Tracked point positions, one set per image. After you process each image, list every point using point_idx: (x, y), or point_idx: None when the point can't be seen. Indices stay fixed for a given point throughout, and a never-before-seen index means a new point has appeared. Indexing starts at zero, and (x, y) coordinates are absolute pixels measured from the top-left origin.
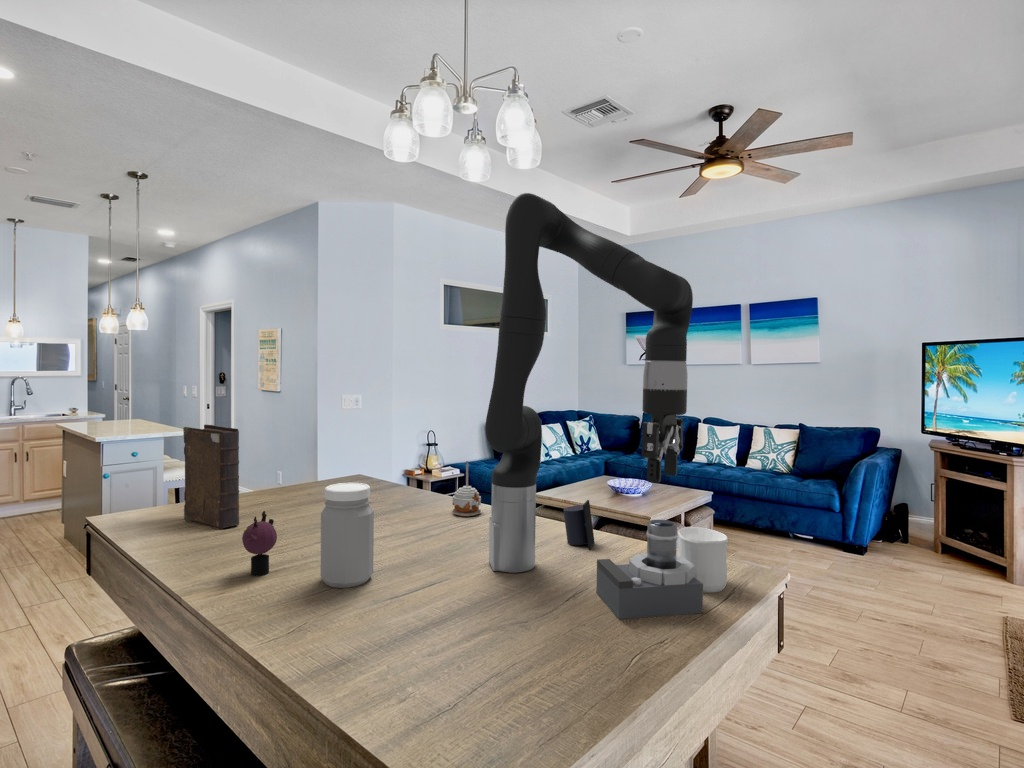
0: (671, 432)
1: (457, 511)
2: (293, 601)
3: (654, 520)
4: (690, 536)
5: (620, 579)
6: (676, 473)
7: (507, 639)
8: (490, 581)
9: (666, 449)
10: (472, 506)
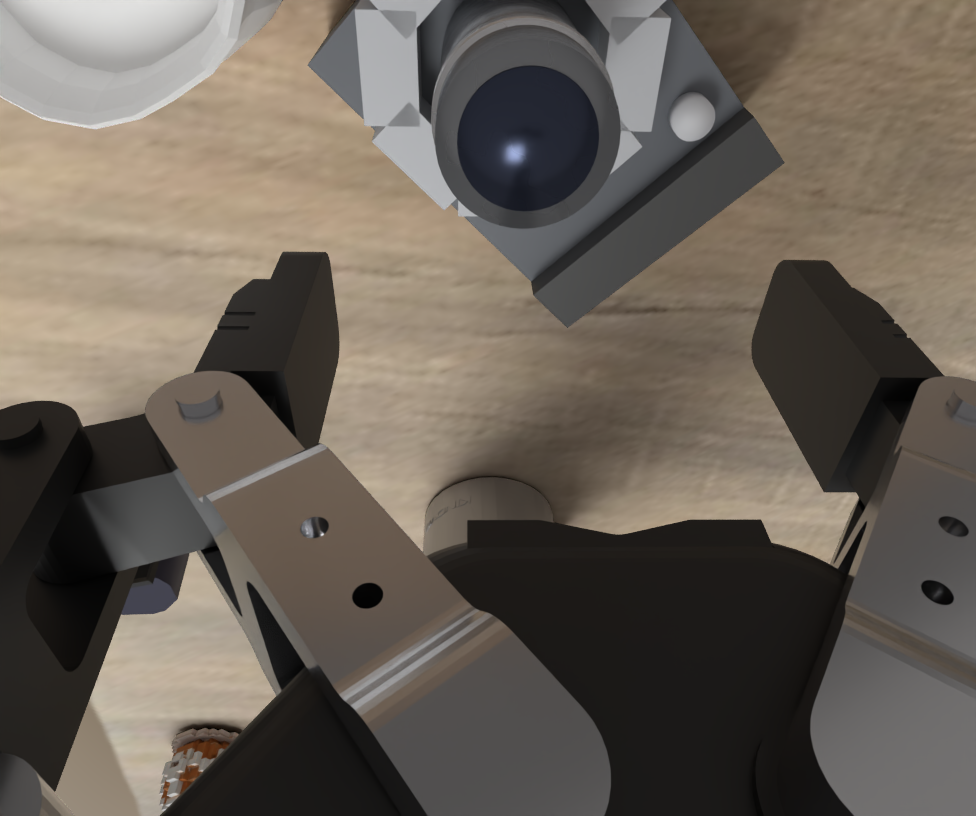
0: (926, 685)
1: None
2: None
3: (506, 201)
4: (29, 57)
5: (756, 168)
6: (301, 253)
7: (969, 317)
8: (626, 505)
9: (904, 446)
10: (213, 756)
